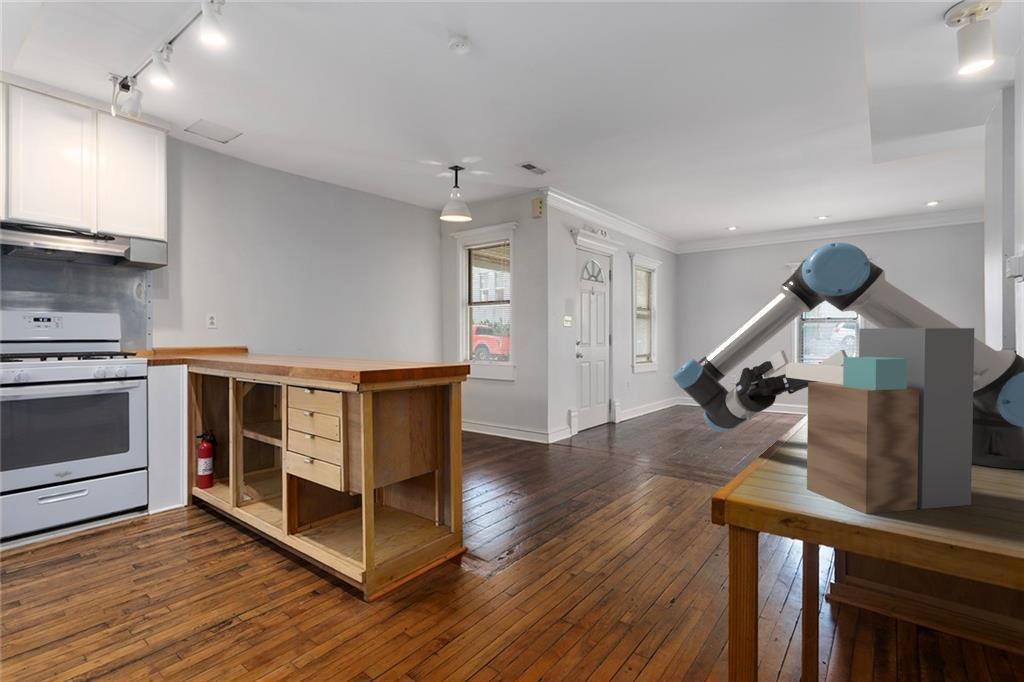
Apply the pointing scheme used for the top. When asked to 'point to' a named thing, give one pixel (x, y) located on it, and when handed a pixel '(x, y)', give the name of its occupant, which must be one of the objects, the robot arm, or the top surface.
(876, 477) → the tall wooden pillar
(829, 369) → the bar
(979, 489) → the top surface
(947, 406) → the tower
